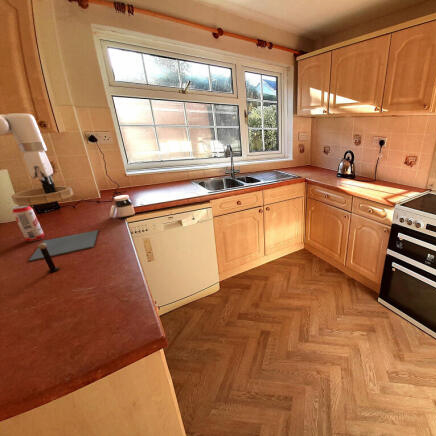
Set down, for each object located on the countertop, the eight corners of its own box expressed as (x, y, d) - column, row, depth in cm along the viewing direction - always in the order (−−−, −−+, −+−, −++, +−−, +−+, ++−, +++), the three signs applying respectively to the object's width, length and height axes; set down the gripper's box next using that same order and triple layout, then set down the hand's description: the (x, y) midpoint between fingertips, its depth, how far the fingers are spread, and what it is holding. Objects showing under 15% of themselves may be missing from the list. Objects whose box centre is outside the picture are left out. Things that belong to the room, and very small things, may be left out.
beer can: (25, 243, 109) (8, 210, 103) (28, 238, 113) (12, 206, 107) (44, 239, 112) (29, 206, 106) (46, 235, 117) (32, 203, 111)
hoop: (7, 208, 86) (3, 200, 85) (24, 197, 99) (21, 189, 98) (68, 200, 94) (65, 192, 92) (76, 190, 107) (74, 184, 106)
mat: (29, 261, 94) (28, 260, 94) (44, 241, 110) (43, 240, 110) (93, 247, 103) (92, 246, 103) (98, 231, 119) (97, 230, 119)
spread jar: (137, 216, 136) (131, 196, 132) (113, 222, 129) (106, 201, 125) (131, 211, 145) (126, 192, 140) (109, 217, 137) (102, 197, 133)
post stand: (48, 273, 86) (34, 245, 82) (50, 270, 88) (37, 242, 84) (57, 271, 87) (44, 243, 83) (59, 267, 89) (47, 240, 85)
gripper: (26, 146, 100) (45, 190, 107) (11, 150, 87) (33, 198, 94) (50, 145, 103) (67, 187, 110) (39, 148, 91) (58, 195, 98)
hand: (51, 192), depth 102 cm, fingers closed on hoop, 1 cm apart
